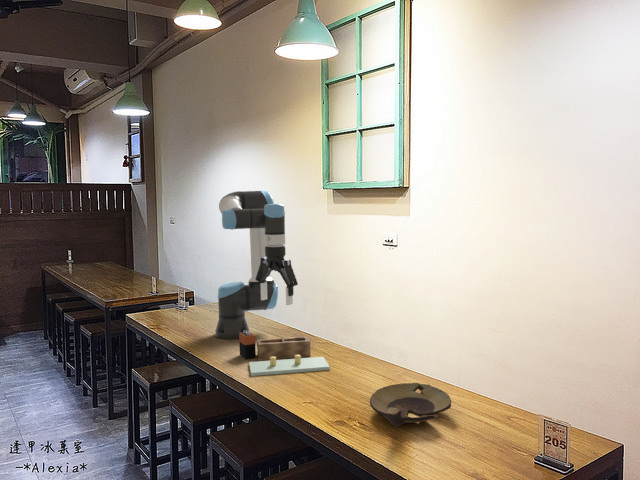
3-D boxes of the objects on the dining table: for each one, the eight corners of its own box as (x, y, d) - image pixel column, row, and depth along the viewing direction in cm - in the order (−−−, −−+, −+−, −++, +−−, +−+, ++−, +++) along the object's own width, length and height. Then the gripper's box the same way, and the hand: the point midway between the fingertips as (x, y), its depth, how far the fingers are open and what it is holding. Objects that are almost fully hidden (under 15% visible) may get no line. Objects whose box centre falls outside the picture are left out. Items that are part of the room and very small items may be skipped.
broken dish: (468, 414, 151) (468, 387, 151) (399, 448, 132) (399, 418, 131) (406, 392, 168) (406, 369, 167) (337, 420, 148) (337, 394, 148)
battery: (245, 359, 204) (244, 334, 203) (239, 355, 210) (238, 330, 209) (256, 357, 206) (255, 332, 205) (249, 353, 212) (248, 328, 211)
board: (251, 376, 186) (250, 364, 185) (249, 365, 197) (248, 354, 197) (329, 369, 191) (329, 358, 190) (323, 359, 202) (323, 348, 202)
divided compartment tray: (258, 359, 203) (258, 344, 203) (257, 354, 210) (257, 339, 210) (310, 356, 207) (310, 341, 207) (307, 350, 214) (307, 336, 213)
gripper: (245, 244, 203) (246, 299, 205) (291, 248, 186) (293, 308, 188) (260, 242, 208) (261, 296, 210) (306, 246, 192) (307, 304, 194)
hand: (276, 302), depth 199 cm, fingers open, 13 cm apart
